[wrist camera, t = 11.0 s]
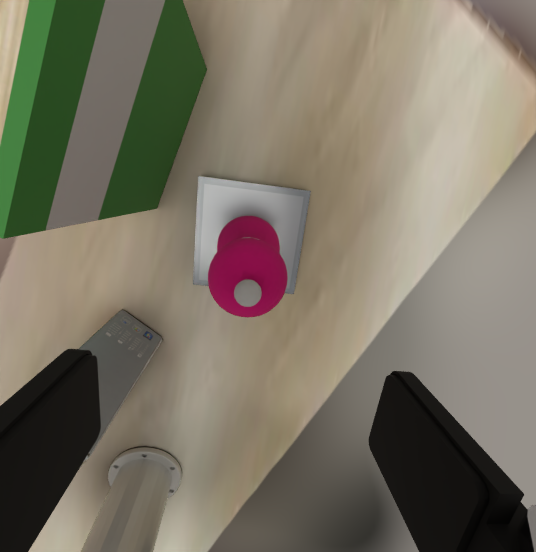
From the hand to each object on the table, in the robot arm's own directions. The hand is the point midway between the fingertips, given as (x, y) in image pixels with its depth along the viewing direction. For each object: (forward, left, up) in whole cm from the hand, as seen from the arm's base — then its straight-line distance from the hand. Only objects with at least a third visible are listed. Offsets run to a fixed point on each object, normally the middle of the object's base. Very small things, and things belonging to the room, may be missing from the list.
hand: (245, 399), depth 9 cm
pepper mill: (0, 0, -29) cm, 29 cm away
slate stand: (0, 0, -31) cm, 31 cm away
